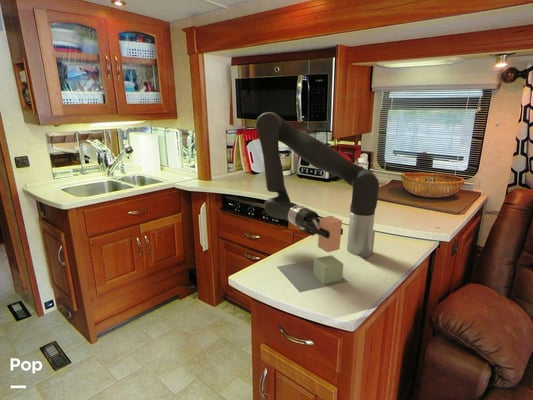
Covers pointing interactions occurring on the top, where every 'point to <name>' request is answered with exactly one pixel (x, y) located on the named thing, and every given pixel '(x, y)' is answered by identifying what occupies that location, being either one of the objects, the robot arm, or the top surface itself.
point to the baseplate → (304, 276)
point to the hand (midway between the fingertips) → (335, 233)
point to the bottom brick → (328, 269)
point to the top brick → (335, 234)
